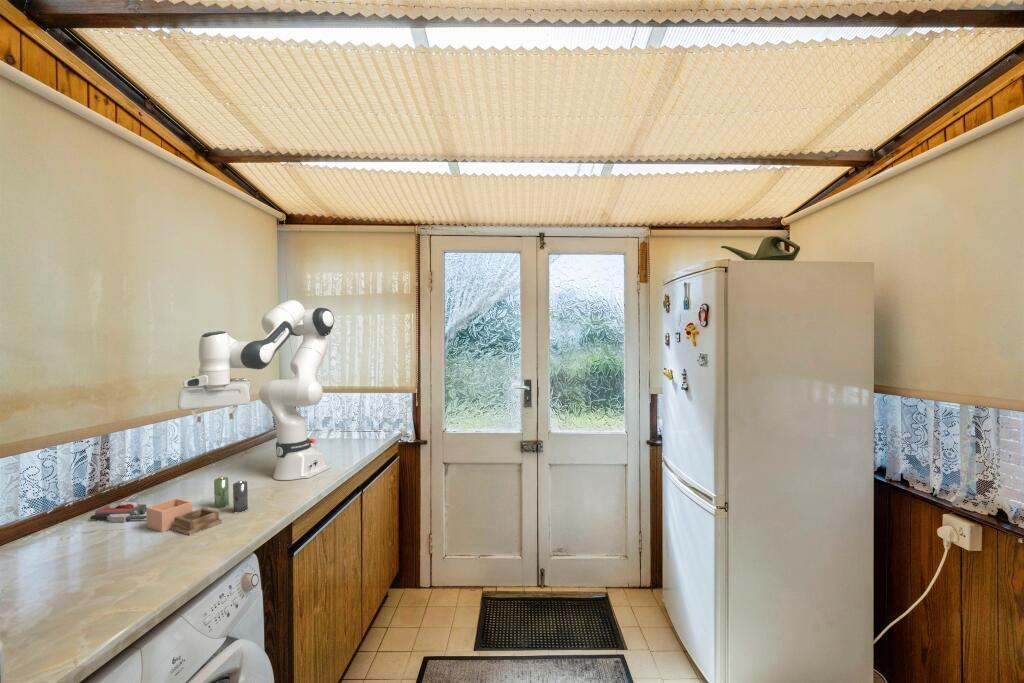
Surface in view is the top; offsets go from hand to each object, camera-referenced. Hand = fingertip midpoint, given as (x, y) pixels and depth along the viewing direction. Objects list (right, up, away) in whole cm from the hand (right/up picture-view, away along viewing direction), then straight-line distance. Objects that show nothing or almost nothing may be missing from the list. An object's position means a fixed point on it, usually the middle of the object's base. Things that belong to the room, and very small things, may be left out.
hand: (215, 420), depth 149 cm
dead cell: (+12, -29, -5) cm, 31 cm away
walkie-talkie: (-22, -30, -9) cm, 38 cm away
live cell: (+3, -29, -1) cm, 29 cm away
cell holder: (+6, -29, -17) cm, 34 cm away
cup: (-4, -29, -15) cm, 33 cm away
